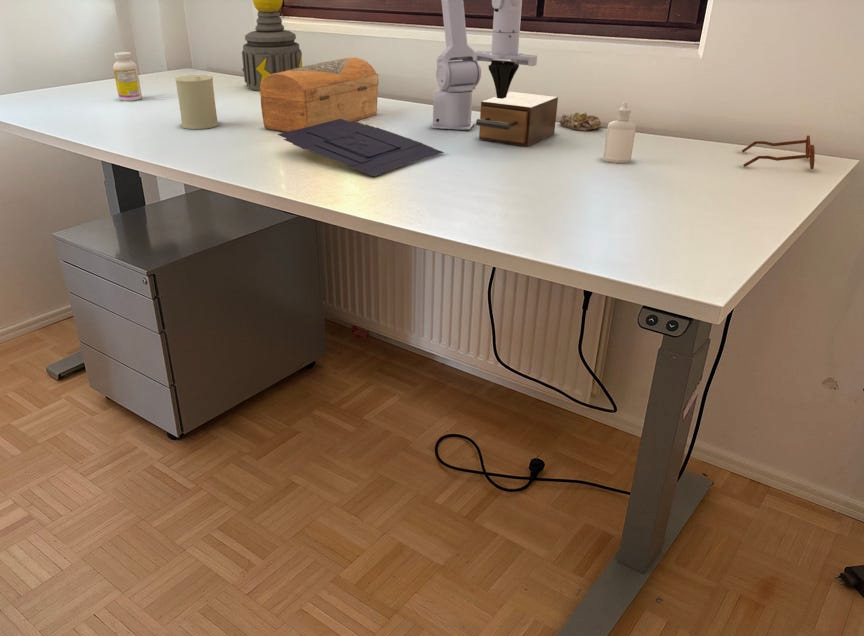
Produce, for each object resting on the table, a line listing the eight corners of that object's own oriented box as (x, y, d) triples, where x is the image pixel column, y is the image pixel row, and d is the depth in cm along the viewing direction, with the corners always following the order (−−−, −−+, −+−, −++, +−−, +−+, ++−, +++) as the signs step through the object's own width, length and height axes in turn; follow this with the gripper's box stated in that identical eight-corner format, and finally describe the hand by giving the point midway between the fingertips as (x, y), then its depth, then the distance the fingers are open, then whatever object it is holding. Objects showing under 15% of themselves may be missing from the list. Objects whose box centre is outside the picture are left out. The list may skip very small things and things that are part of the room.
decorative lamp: (236, 91, 231) (225, -17, 216) (255, 81, 247) (246, -21, 232) (294, 92, 228) (287, -17, 213) (310, 82, 244) (304, -20, 229)
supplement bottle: (125, 96, 225) (117, 51, 218) (145, 97, 224) (138, 51, 217) (115, 101, 219) (106, 54, 213) (136, 101, 218) (128, 54, 212)
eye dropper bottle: (623, 165, 155) (633, 105, 149) (599, 160, 158) (607, 102, 152) (633, 161, 157) (643, 102, 151) (609, 156, 161) (617, 99, 155)
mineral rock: (608, 116, 185) (596, 112, 178) (605, 134, 186) (592, 131, 180) (568, 112, 191) (555, 109, 184) (565, 130, 192) (552, 127, 186)
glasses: (813, 173, 149) (820, 148, 146) (742, 167, 153) (748, 143, 150) (806, 157, 159) (813, 133, 157) (740, 152, 163) (746, 128, 161)
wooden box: (332, 107, 208) (330, 54, 201) (380, 114, 200) (379, 59, 193) (257, 128, 187) (252, 69, 180) (307, 136, 179) (304, 75, 172)
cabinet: (527, 146, 169) (531, 107, 165) (478, 139, 175) (481, 101, 171) (554, 134, 179) (558, 96, 175) (507, 127, 186) (510, 91, 181)
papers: (345, 128, 180) (346, 113, 178) (443, 164, 165) (446, 148, 163) (270, 148, 164) (270, 131, 162) (371, 189, 149) (373, 172, 147)
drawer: (513, 147, 165) (515, 116, 161) (468, 140, 170) (469, 110, 167) (548, 131, 178) (551, 102, 174) (505, 125, 183) (507, 97, 180)
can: (192, 131, 185) (186, 80, 179) (175, 125, 191) (168, 75, 185) (225, 125, 190) (219, 75, 184) (207, 119, 196) (201, 71, 190)
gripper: (467, 31, 160) (464, 97, 166) (528, 35, 152) (523, 104, 159) (483, 28, 165) (479, 92, 171) (543, 32, 157) (537, 98, 164)
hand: (501, 97), depth 165 cm, fingers closed
